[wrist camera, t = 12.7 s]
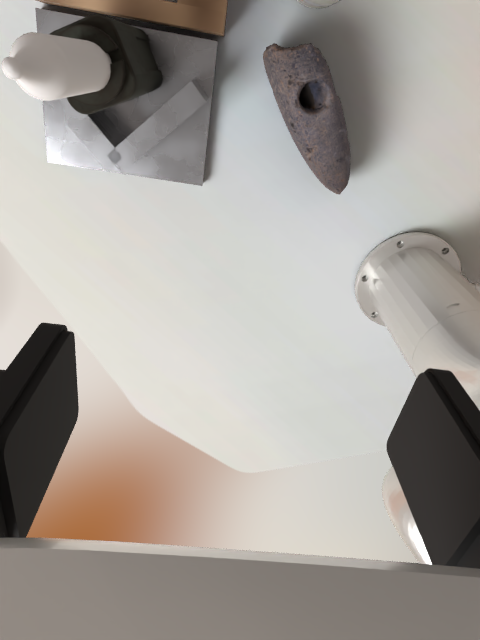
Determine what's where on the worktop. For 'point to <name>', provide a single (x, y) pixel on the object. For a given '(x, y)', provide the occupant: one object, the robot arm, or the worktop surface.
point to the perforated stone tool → (311, 110)
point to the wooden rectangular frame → (160, 12)
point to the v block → (141, 115)
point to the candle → (85, 64)
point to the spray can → (317, 3)
